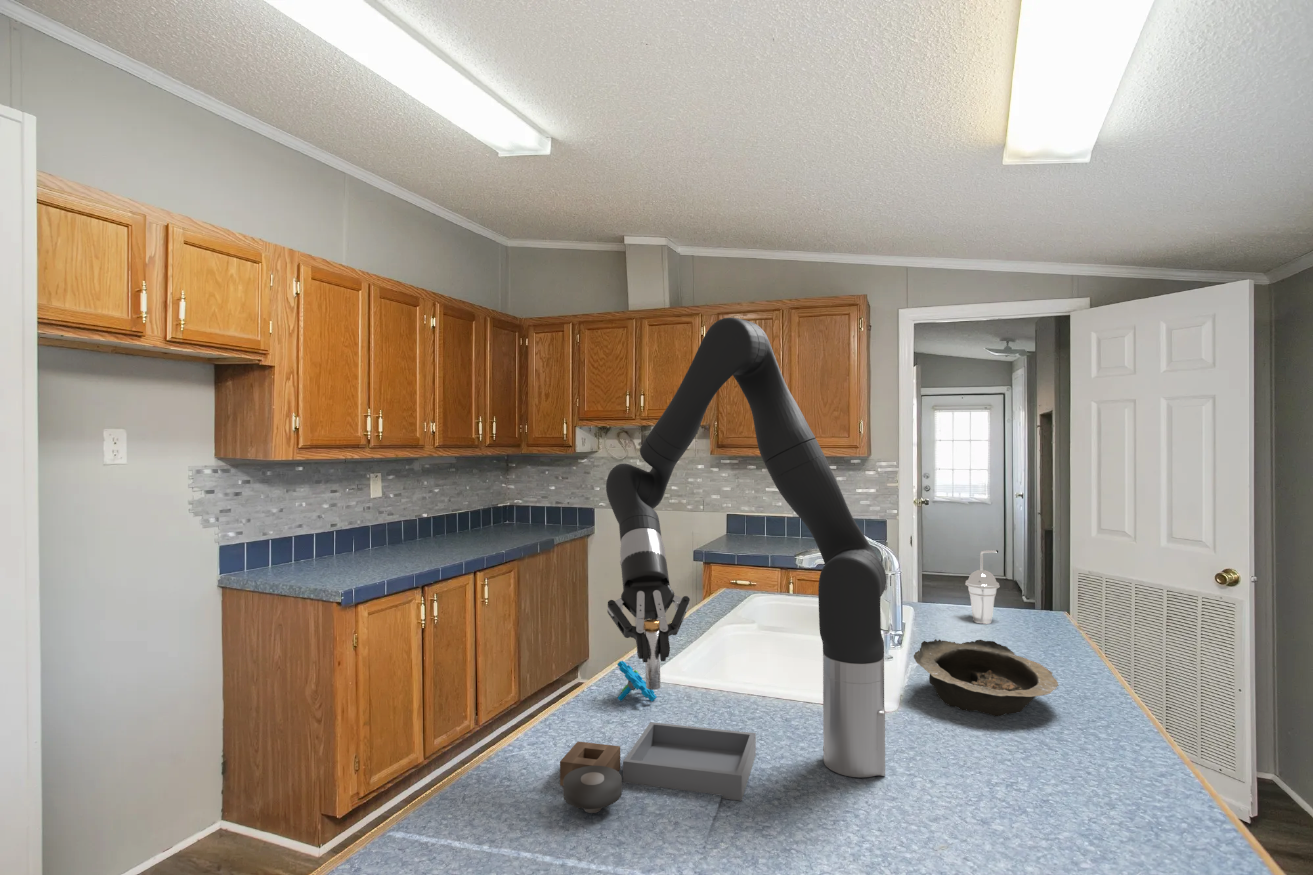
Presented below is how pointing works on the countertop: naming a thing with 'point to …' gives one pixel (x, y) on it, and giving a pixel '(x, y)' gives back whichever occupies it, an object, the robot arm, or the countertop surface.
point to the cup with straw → (982, 592)
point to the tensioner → (591, 776)
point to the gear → (634, 682)
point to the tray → (692, 759)
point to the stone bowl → (983, 676)
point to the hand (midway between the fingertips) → (654, 658)
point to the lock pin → (652, 654)
